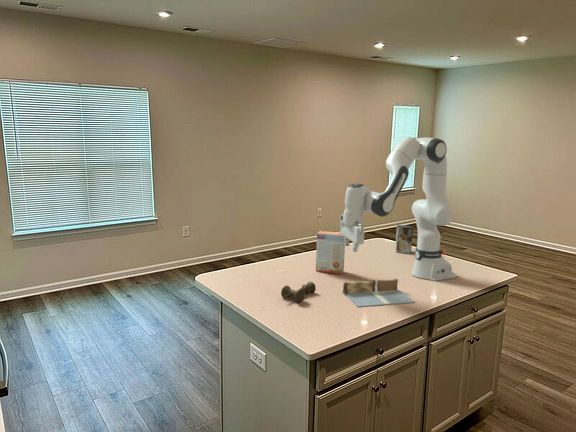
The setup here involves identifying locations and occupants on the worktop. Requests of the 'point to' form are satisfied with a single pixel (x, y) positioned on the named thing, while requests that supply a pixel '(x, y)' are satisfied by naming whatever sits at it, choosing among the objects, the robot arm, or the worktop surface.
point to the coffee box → (404, 239)
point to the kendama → (298, 292)
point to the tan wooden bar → (359, 286)
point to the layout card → (380, 295)
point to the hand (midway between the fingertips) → (350, 248)
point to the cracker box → (330, 252)
